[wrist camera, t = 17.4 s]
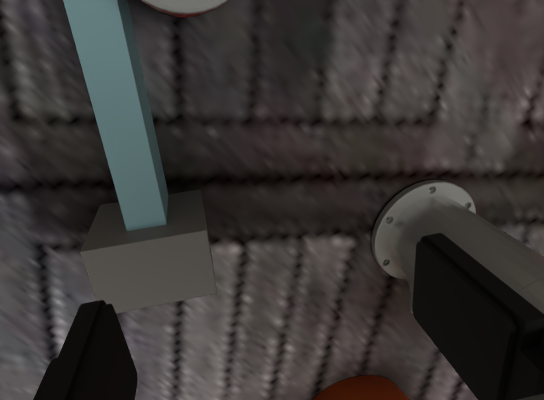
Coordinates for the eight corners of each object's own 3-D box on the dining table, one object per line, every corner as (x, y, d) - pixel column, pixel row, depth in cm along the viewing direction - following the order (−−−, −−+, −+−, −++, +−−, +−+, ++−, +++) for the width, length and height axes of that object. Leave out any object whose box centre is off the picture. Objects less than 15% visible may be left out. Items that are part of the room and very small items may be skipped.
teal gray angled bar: (267, 233, 39) (287, 279, 32) (117, 259, 36) (102, 316, 29) (234, -140, 26) (256, -203, 19) (-4, -140, 23) (-82, -212, 16)
